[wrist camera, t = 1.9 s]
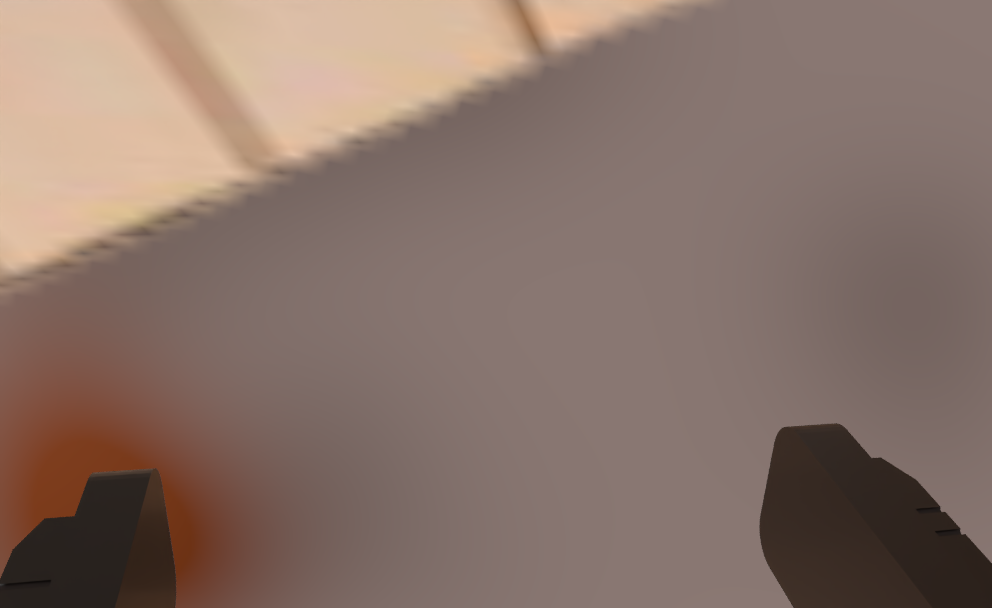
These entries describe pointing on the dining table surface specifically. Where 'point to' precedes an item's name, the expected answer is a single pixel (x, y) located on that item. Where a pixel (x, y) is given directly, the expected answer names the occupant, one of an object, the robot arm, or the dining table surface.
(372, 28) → the dining table surface
